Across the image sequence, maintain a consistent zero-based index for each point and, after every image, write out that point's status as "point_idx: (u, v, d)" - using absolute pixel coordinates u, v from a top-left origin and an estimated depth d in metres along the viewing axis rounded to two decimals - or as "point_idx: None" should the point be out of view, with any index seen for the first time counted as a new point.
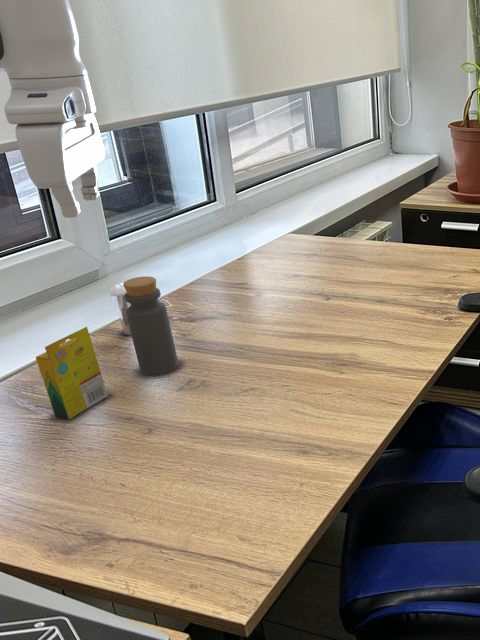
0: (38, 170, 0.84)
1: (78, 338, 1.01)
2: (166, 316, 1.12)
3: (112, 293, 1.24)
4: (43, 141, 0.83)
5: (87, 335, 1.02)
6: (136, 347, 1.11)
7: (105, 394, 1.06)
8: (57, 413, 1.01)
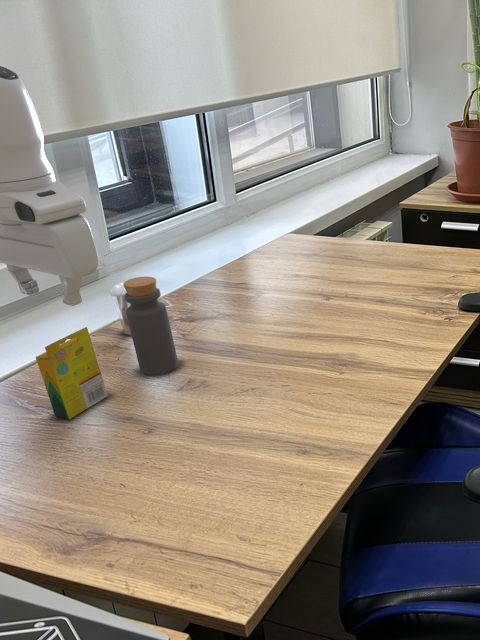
0: (80, 260, 0.89)
1: (78, 338, 1.01)
2: (166, 316, 1.12)
3: (112, 293, 1.24)
4: (79, 233, 0.89)
5: (87, 335, 1.02)
6: (136, 347, 1.11)
7: (105, 394, 1.06)
8: (57, 413, 1.01)
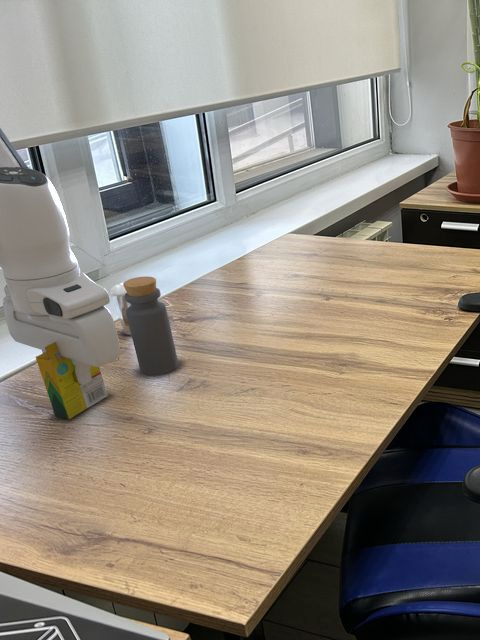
0: (103, 350, 0.94)
1: None
2: (166, 316, 1.12)
3: (112, 293, 1.24)
4: (103, 324, 0.94)
5: None
6: (136, 347, 1.11)
7: (105, 394, 1.06)
8: (57, 413, 1.01)
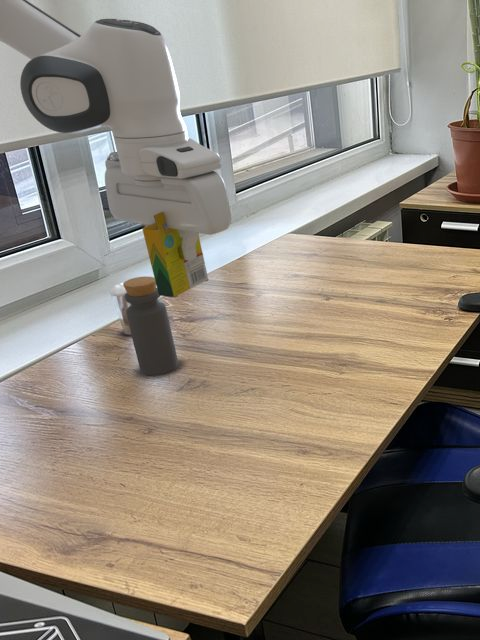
0: (216, 216, 0.90)
1: None
2: (166, 316, 1.12)
3: (112, 293, 1.24)
4: (216, 189, 0.90)
5: None
6: (136, 347, 1.11)
7: (206, 277, 1.02)
8: (161, 291, 0.97)
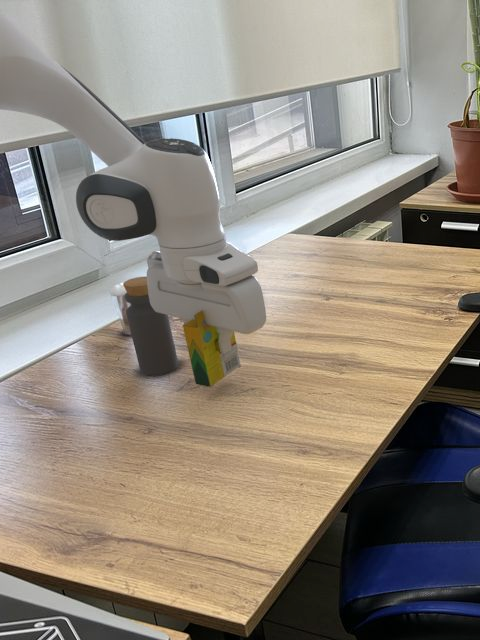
0: (253, 318, 0.97)
1: None
2: (166, 316, 1.12)
3: (112, 293, 1.24)
4: (253, 292, 0.97)
5: None
6: (136, 347, 1.11)
7: (239, 364, 1.09)
8: (198, 380, 1.04)
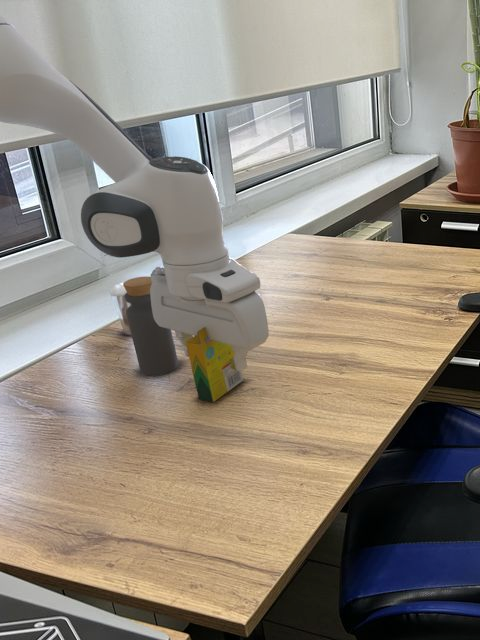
0: (256, 333, 0.98)
1: None
2: None
3: (112, 293, 1.24)
4: (256, 308, 0.98)
5: None
6: (136, 347, 1.11)
7: (241, 378, 1.10)
8: (201, 396, 1.05)
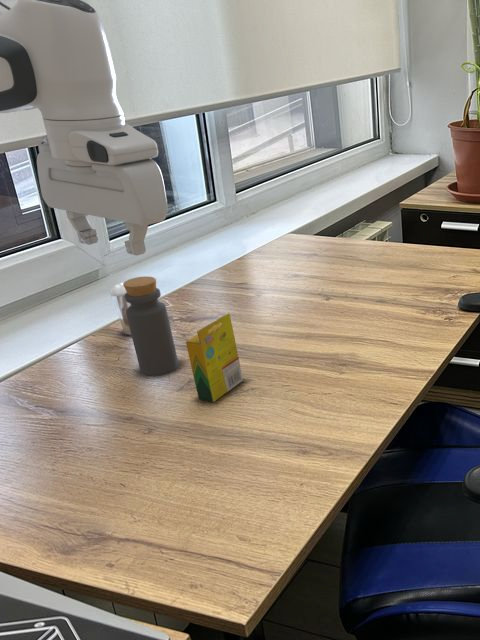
0: (151, 206, 0.86)
1: (223, 324, 1.04)
2: (166, 316, 1.12)
3: (112, 293, 1.24)
4: (151, 177, 0.85)
5: (229, 321, 1.06)
6: (136, 347, 1.11)
7: (241, 378, 1.10)
8: (201, 396, 1.05)
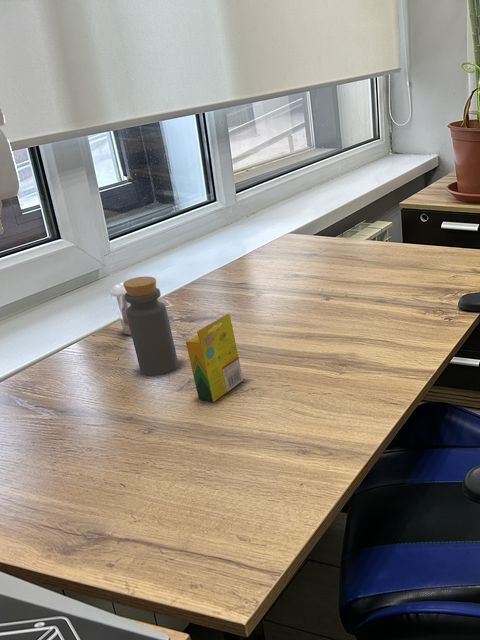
0: None
1: (223, 324, 1.04)
2: (166, 316, 1.12)
3: (112, 293, 1.24)
4: None
5: (229, 321, 1.06)
6: (136, 347, 1.11)
7: (241, 378, 1.10)
8: (201, 396, 1.05)
